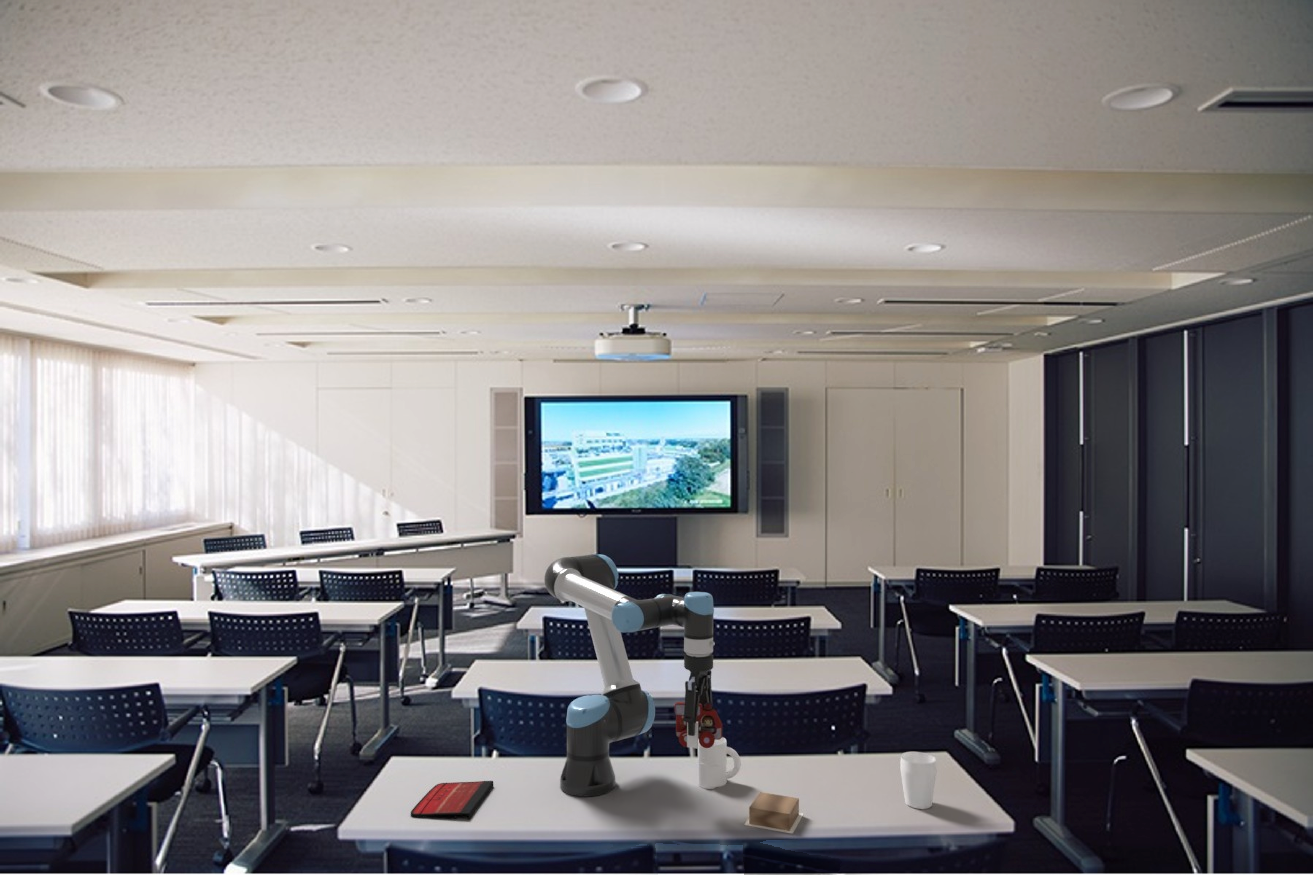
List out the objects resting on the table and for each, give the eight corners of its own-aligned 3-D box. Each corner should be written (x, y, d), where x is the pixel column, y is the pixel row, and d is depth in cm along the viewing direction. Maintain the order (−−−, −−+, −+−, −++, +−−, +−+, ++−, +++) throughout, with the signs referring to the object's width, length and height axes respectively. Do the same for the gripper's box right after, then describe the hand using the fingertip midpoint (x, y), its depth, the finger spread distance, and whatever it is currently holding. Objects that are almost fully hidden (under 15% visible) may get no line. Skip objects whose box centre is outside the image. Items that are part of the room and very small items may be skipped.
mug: (740, 791, 224) (740, 746, 224) (696, 788, 226) (696, 744, 226) (741, 779, 232) (741, 736, 232) (699, 777, 234) (699, 734, 234)
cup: (936, 799, 219) (936, 753, 219) (936, 813, 211) (936, 765, 211) (901, 794, 222) (901, 749, 222) (899, 808, 214) (899, 761, 214)
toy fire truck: (721, 749, 210) (721, 707, 210) (672, 746, 211) (673, 705, 211) (722, 739, 217) (722, 699, 217) (675, 737, 218) (675, 697, 218)
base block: (749, 823, 203) (749, 807, 203) (760, 807, 212) (760, 791, 212) (789, 830, 199) (789, 814, 199) (798, 814, 208) (798, 798, 208)
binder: (493, 779, 227) (469, 812, 206) (493, 788, 227) (470, 821, 206) (436, 780, 229) (407, 812, 208) (437, 788, 229) (407, 822, 208)
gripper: (698, 664, 203) (698, 757, 203) (724, 646, 222) (724, 731, 222) (670, 660, 206) (669, 753, 206) (698, 643, 225) (698, 727, 225)
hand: (698, 741), depth 214 cm, fingers closed on toy fire truck, 8 cm apart
